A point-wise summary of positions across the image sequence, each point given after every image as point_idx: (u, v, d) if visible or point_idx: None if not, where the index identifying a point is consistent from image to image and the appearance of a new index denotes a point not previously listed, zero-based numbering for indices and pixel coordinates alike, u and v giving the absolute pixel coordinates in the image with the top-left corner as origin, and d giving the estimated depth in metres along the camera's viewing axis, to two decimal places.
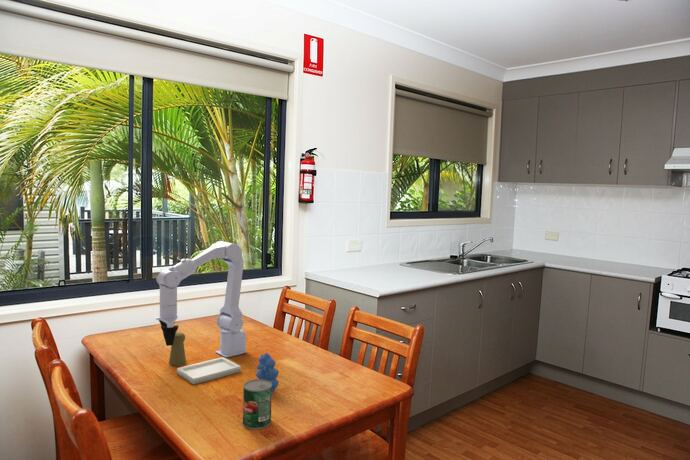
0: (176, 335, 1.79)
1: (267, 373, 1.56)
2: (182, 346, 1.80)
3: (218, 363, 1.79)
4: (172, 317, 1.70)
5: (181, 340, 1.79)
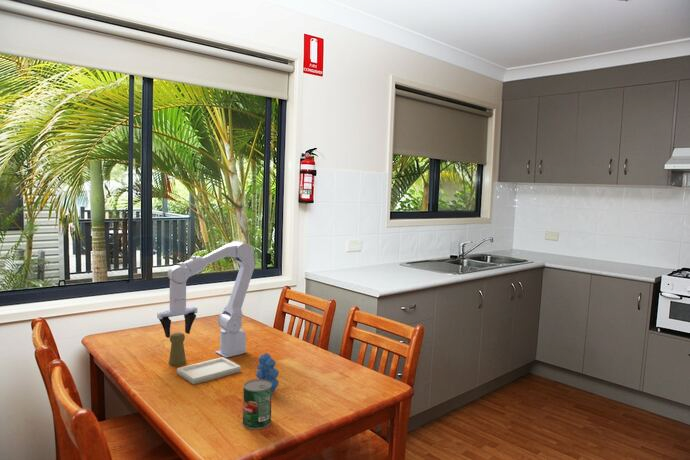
0: (176, 335, 1.78)
1: (267, 373, 1.56)
2: (182, 346, 1.80)
3: (218, 363, 1.79)
4: (172, 311, 1.77)
5: (181, 340, 1.79)
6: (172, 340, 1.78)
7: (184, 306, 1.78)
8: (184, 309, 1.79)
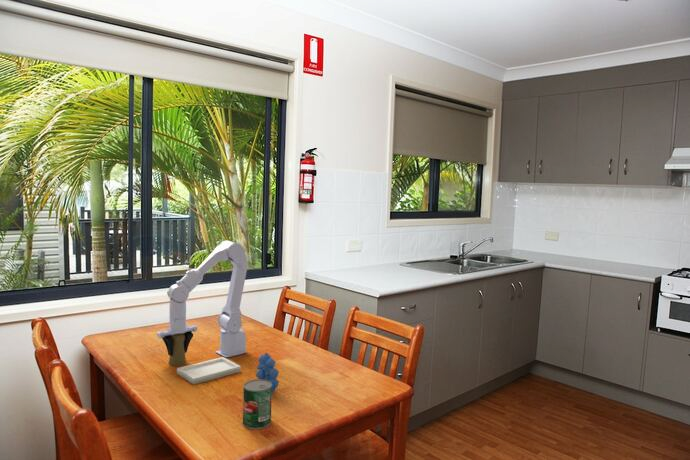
0: (176, 335, 1.79)
1: (267, 373, 1.56)
2: (182, 346, 1.80)
3: (218, 363, 1.79)
4: (172, 330, 1.77)
5: (181, 340, 1.79)
6: None
7: (184, 325, 1.79)
8: (184, 328, 1.79)
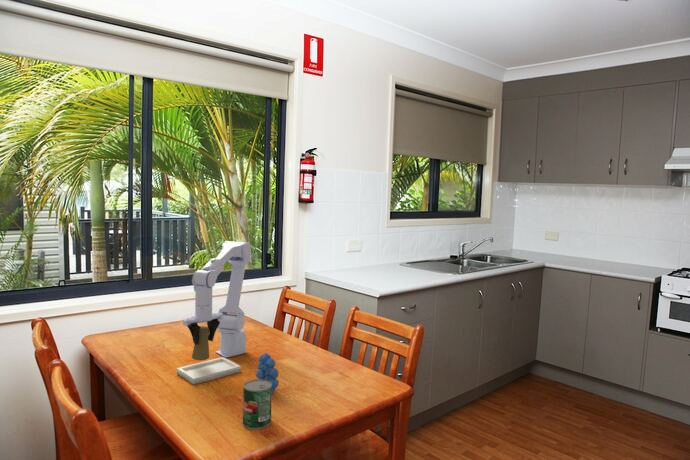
0: (201, 329, 1.72)
1: (267, 373, 1.56)
2: (207, 341, 1.73)
3: (218, 363, 1.79)
4: (198, 317, 1.70)
5: (206, 335, 1.72)
6: None
7: (210, 312, 1.71)
8: (210, 315, 1.72)
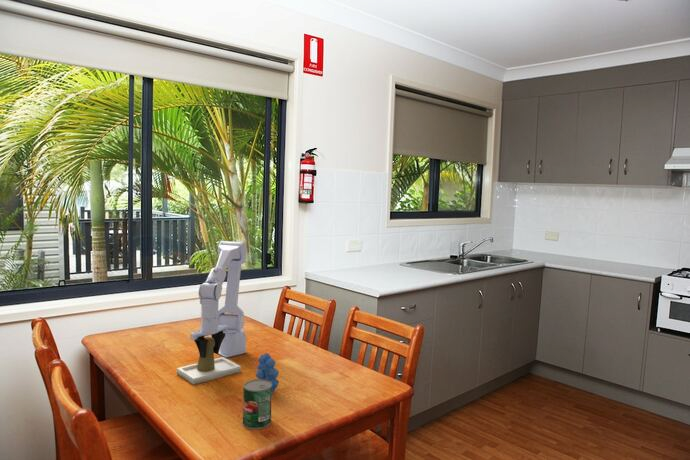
0: None
1: (267, 373, 1.56)
2: (212, 351, 1.72)
3: (218, 363, 1.79)
4: (205, 331, 1.68)
5: (212, 345, 1.71)
6: None
7: (217, 325, 1.71)
8: (217, 328, 1.71)
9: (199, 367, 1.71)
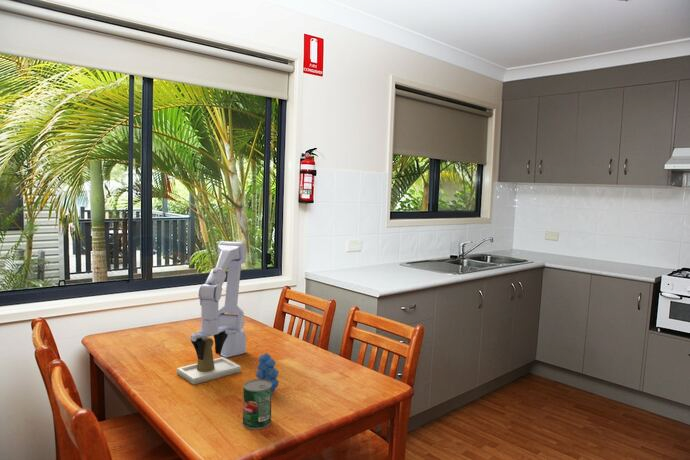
0: (205, 340, 1.71)
1: (267, 373, 1.56)
2: (211, 351, 1.73)
3: (218, 363, 1.79)
4: (205, 332, 1.68)
5: (210, 345, 1.71)
6: None
7: (217, 326, 1.71)
8: (217, 329, 1.71)
9: (199, 368, 1.71)
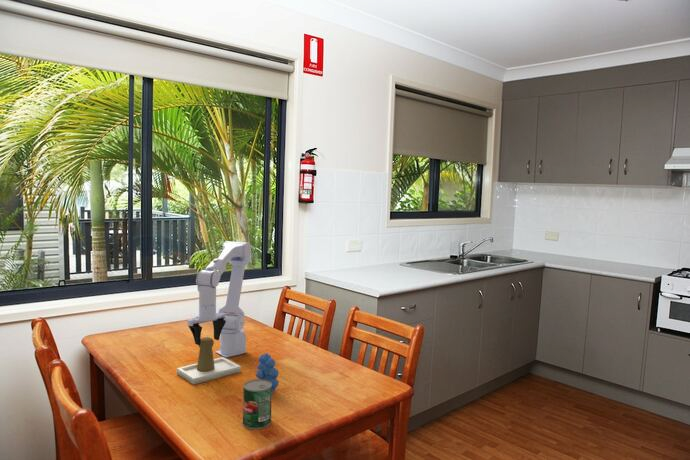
0: (206, 340, 1.71)
1: (267, 373, 1.56)
2: (211, 351, 1.73)
3: (218, 363, 1.79)
4: (202, 317, 1.70)
5: (211, 345, 1.72)
6: (202, 345, 1.70)
7: (214, 312, 1.72)
8: (214, 315, 1.72)
9: (199, 368, 1.71)
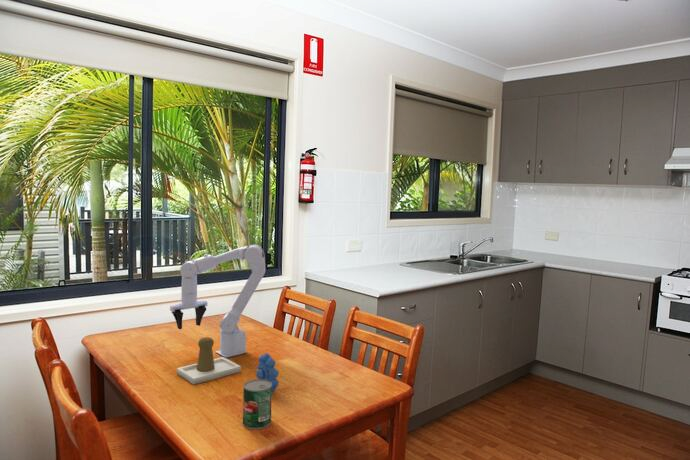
0: (205, 340, 1.71)
1: (267, 373, 1.56)
2: (211, 351, 1.73)
3: (218, 363, 1.79)
4: (184, 304, 1.87)
5: (211, 345, 1.71)
6: (202, 345, 1.70)
7: (195, 299, 1.89)
8: (195, 302, 1.89)
9: (199, 368, 1.71)
